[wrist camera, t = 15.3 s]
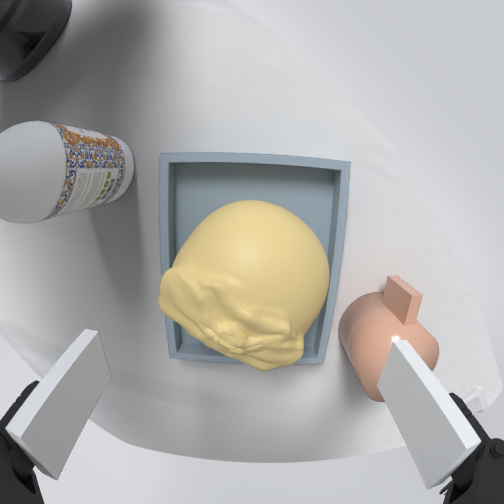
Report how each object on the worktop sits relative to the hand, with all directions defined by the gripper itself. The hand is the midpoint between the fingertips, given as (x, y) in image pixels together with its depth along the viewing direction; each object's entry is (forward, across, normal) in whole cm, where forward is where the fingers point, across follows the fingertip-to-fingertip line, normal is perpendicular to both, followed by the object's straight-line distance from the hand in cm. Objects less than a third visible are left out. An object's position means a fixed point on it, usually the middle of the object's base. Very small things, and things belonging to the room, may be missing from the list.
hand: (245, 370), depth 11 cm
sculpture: (+16, 0, 0) cm, 16 cm away
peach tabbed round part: (+16, +14, -6) cm, 23 cm away
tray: (+17, 0, -1) cm, 17 cm away
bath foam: (+17, -15, +8) cm, 24 cm away
